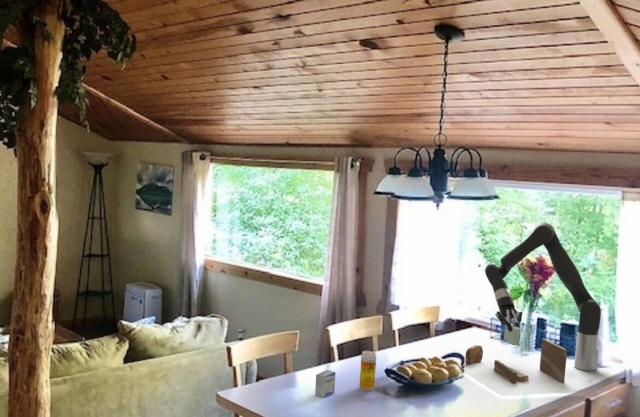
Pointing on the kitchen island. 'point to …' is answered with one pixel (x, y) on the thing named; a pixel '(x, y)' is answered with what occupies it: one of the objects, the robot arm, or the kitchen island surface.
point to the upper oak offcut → (521, 376)
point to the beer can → (367, 370)
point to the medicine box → (325, 383)
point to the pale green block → (512, 335)
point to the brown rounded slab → (474, 355)
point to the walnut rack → (541, 363)
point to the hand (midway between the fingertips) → (514, 330)
